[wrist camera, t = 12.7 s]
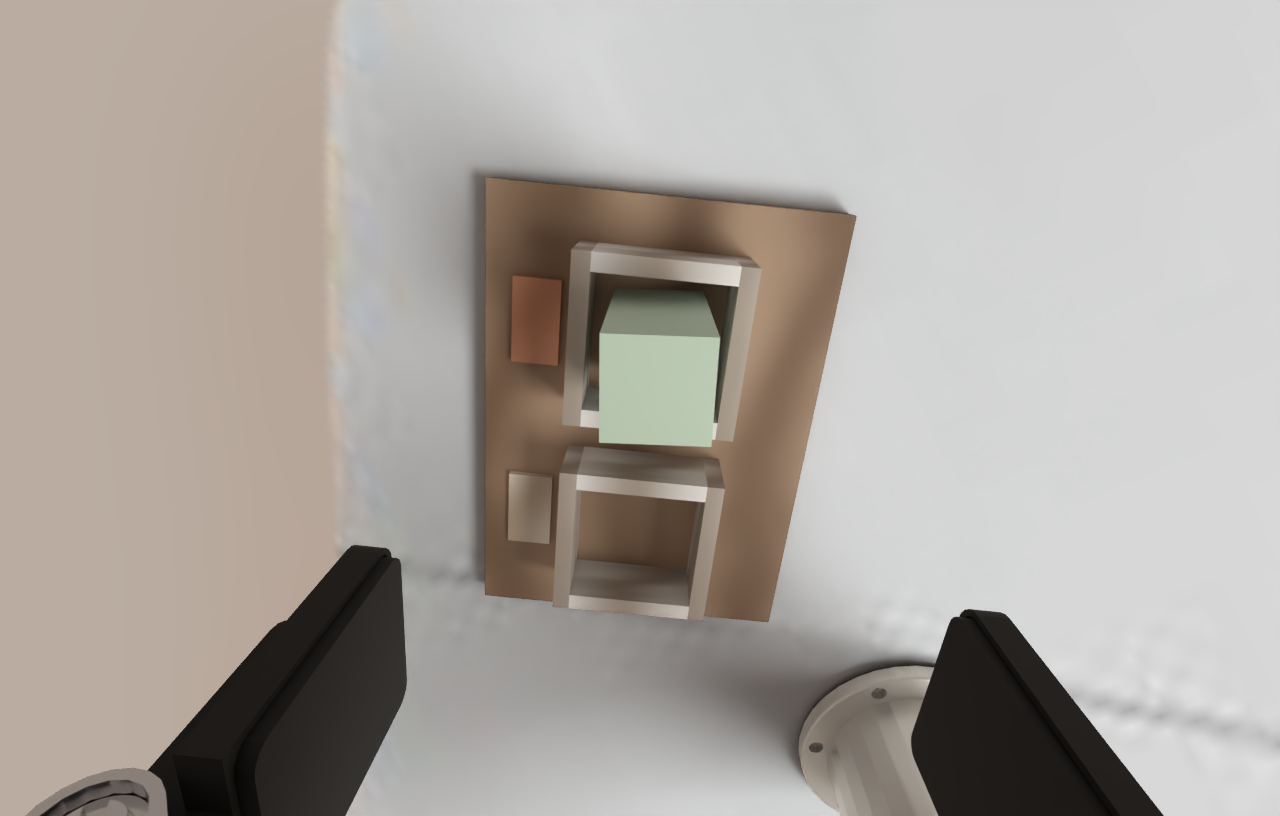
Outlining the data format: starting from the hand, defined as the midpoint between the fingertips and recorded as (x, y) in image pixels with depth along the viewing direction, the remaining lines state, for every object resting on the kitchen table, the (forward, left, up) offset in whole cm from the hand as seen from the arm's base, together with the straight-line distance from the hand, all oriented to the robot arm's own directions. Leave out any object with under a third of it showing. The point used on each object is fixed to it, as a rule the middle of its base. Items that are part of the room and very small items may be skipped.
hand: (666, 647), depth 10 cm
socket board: (0, +5, -21) cm, 21 cm away
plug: (0, 0, -20) cm, 20 cm away
